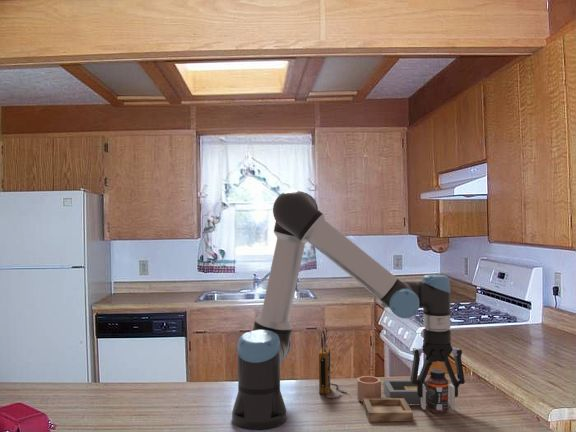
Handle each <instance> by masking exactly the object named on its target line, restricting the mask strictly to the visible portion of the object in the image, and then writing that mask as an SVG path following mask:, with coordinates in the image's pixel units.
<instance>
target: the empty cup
mask: <svg viewBox="0 0 576 432" xmlns="http://www.w3.org/2000/svg"><path fill="white" fill-rule="evenodd" d="M356 396H357V399H356V400H359V401H358V402H360V401H361V402H360V403H363V398H382V381H381V379H380V377H376V376H373V375H362V376H359V377H356Z"/></svg>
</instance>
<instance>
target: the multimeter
mask: <svg viewBox="0 0 576 432" xmlns="http://www.w3.org/2000/svg"><path fill="white" fill-rule="evenodd" d="M324 329H325V330H324ZM327 333H328V330H327V328H326V327H322V331H321V333H320V338H321V339H320V341H321V343H320V345H322V346H321V349H320V351H319V352H318V384H319V385H318V387H319V388H318V392H319V395H320V394H321V395H324V398H326V399H329V400H334V399H338V398H340V397H342V396H344V395H345V394H346V393H347V394H349V395H351V393H350V392H348V391H346V390H343V389H339V385H337V384H335V383H331V348H330V347H327V346H328V345H327V344H326V343H327V338H326V337H327V335H328V334H327ZM331 385H333V386H336V388H335V389H336V390H337V391H339V392H341V393H343V394H339V395H336V396H334V397H331V398H329V397H327V396H326V395H329V391H330V389H331ZM333 398H334V399H333Z"/></svg>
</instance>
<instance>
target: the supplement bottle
mask: <svg viewBox="0 0 576 432" xmlns="http://www.w3.org/2000/svg"><path fill="white" fill-rule="evenodd" d="M429 372H430V373H429V374H430V376H428V377H427V378H426V380H427V405H426V410H428V411H429V412H431V413H434V412H435V414H444V413H447V412H448V411H449V380H448V379H447V378H446V372H445V370H443V369H438V368H437V369H436V368H433V369H431V370H429Z"/></svg>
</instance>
